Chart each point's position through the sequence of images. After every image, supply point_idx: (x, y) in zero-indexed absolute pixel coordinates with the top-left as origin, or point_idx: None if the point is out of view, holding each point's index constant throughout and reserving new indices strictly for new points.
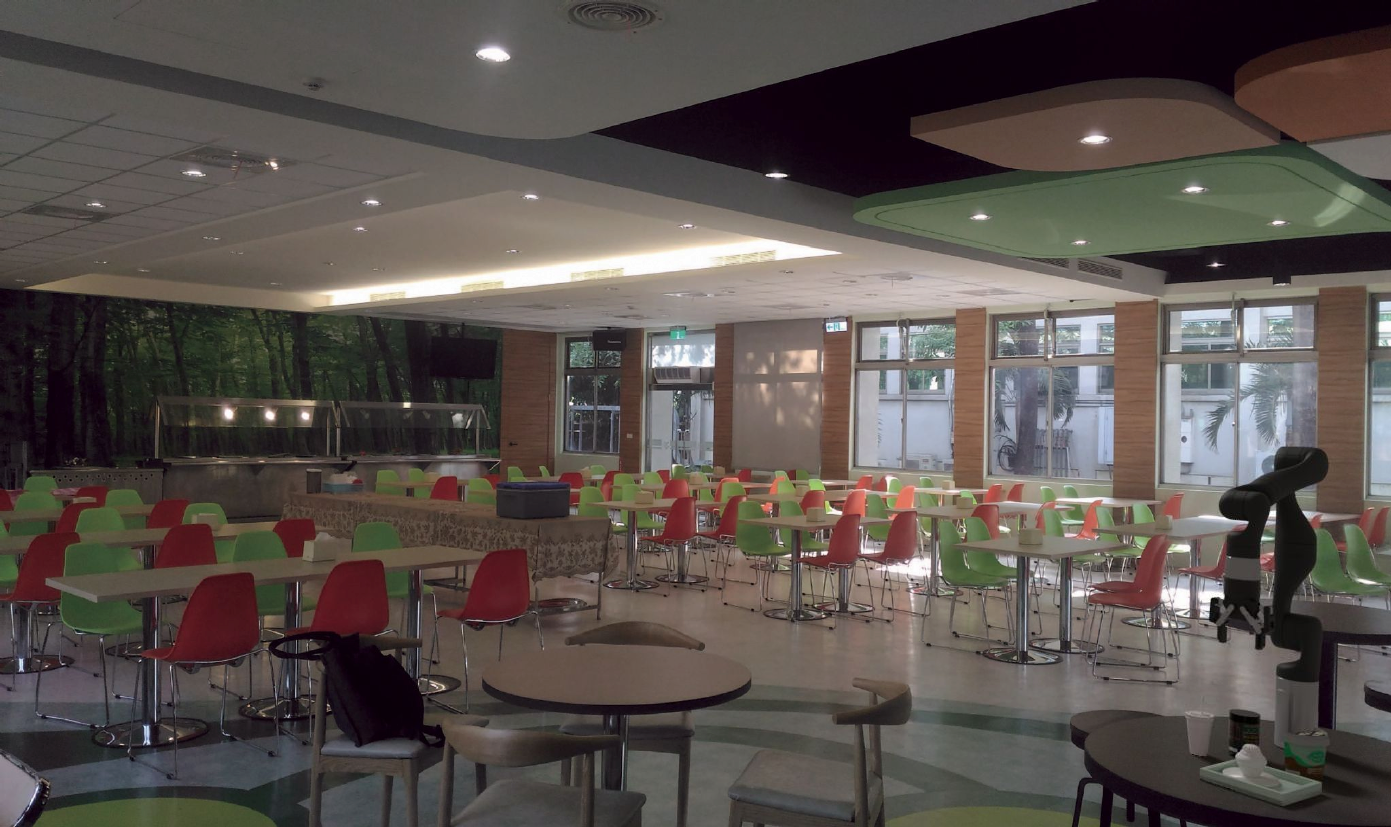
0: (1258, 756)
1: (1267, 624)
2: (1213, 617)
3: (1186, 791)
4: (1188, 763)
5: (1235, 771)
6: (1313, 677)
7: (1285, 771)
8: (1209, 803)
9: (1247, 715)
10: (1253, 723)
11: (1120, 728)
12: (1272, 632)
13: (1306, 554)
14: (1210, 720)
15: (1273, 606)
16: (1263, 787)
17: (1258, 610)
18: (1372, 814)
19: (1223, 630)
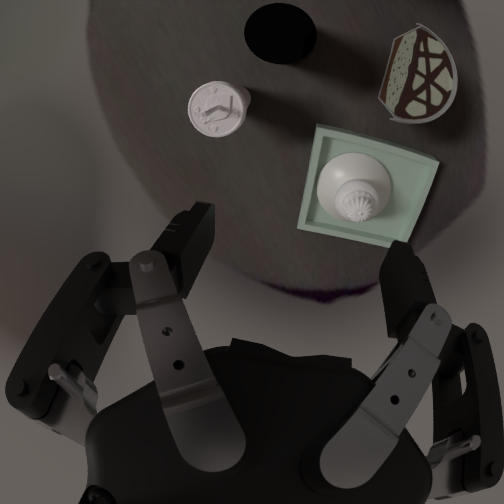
0: (371, 214)
1: (448, 398)
2: (116, 327)
3: (304, 268)
4: (253, 159)
5: (332, 187)
6: None
7: (379, 99)
8: (335, 284)
9: (295, 50)
10: (310, 52)
11: (106, 88)
12: None
13: None
14: (244, 116)
15: (498, 479)
16: (381, 243)
17: (411, 460)
18: (478, 193)
19: (191, 274)
